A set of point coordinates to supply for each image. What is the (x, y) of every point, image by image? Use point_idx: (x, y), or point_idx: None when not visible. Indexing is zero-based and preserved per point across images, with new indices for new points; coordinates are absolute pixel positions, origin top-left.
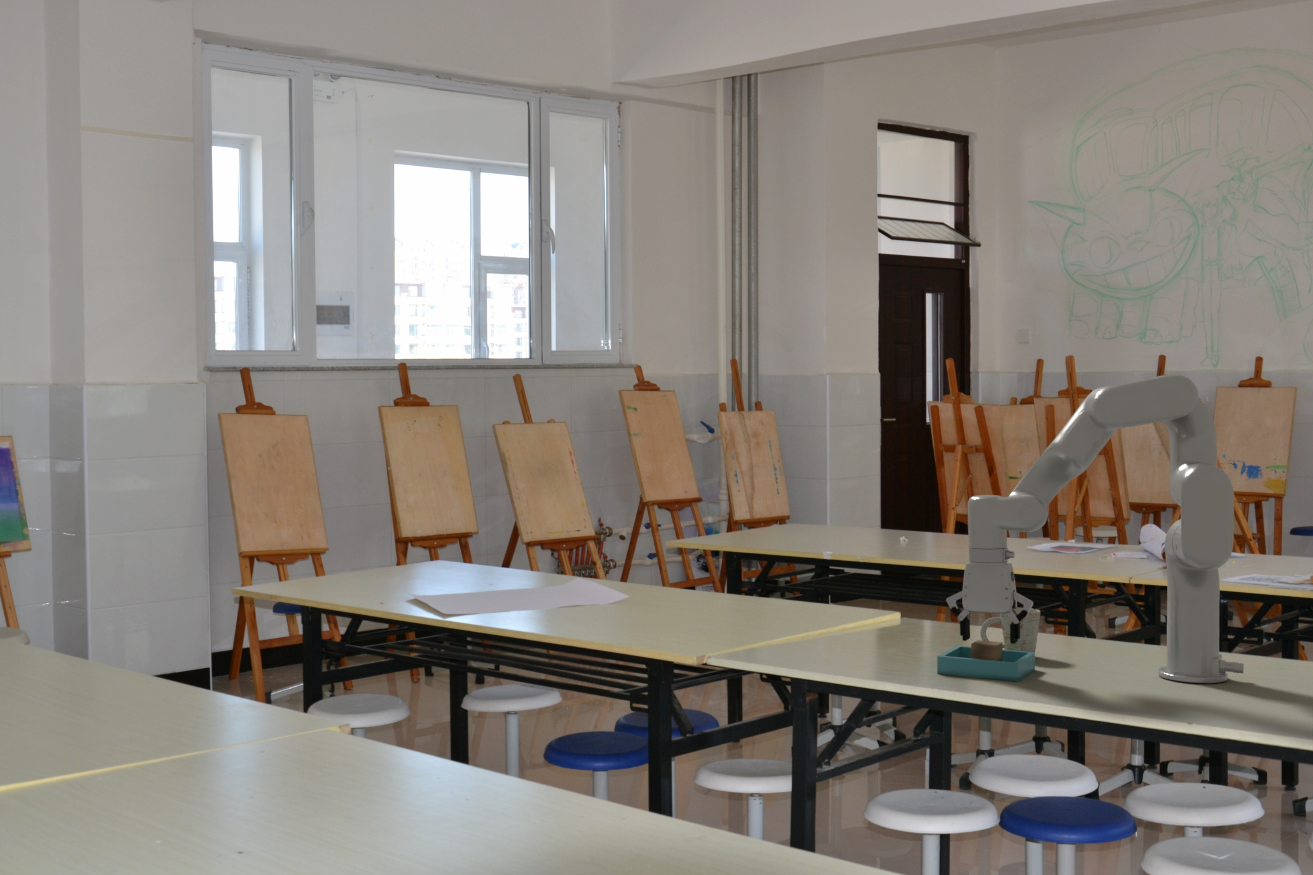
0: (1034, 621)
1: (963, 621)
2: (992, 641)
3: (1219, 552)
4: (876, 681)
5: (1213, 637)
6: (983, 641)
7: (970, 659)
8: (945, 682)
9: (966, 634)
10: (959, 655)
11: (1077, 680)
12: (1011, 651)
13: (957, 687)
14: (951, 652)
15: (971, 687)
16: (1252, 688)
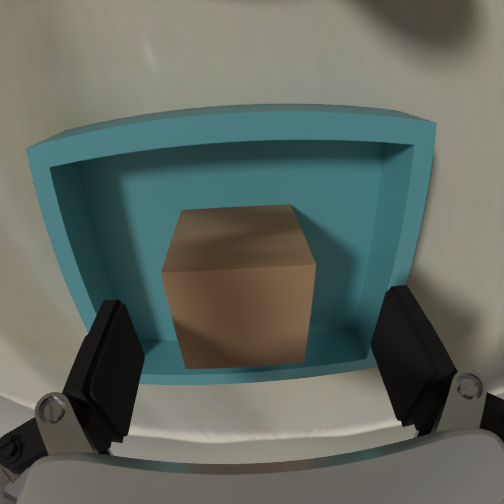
0: None
1: (117, 441)
2: (253, 271)
3: None
4: None
5: None
6: (207, 296)
7: (222, 382)
8: (199, 400)
9: (136, 372)
10: (72, 174)
11: (495, 230)
12: (330, 139)
13: (241, 418)
14: (92, 300)
15: (267, 409)
16: None
